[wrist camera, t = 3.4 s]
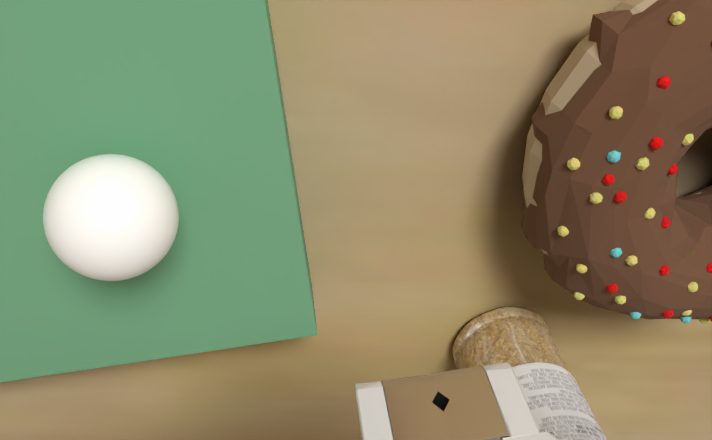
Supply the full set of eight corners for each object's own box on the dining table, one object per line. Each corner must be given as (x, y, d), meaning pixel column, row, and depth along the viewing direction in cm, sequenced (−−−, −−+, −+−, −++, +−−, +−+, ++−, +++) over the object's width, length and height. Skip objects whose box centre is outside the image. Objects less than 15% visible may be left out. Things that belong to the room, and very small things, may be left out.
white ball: (42, 139, 18) (3, 209, 15) (167, 124, 18) (152, 190, 15) (83, 238, 20) (55, 316, 17) (195, 223, 20) (186, 297, 17)
